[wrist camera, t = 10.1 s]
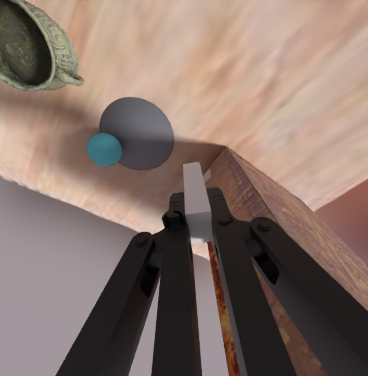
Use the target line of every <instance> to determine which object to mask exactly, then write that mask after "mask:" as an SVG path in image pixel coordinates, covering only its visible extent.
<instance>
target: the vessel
mask: <svg viewBox="0 0 368 376" xmlns="http://www.w3.org/2000/svg"><path fill="white" fill-rule="evenodd" d="M77 71H78V60H77V55H76V52H75V49H74V46H73V44H72V42H71V41H70V39H69V37H68V36H67V34H66V33H65V31H64V30H63V29H62V28H61V27H60V26H59V25H58V24H57V23H56V22H54V21H53V20H52V19H51V18H50V17H49V16H48V15H47V14H46V13H45V12H44V11H43V10H41V9H40V8H38V7H36V6H34V5H32V4H30V3H28V2H27V1H25V0H0V79H1V80H2V81H4V82H5V83H7V84H9V85H11V86H13V87H16V88H18V89H21V90H24V91H37V90H51V91H53V90H56V89H59V88H61V87H64V86H66V85H67V84H72V85H76V86H80V85H82V84H83V82H84V79H83V78H82V77H80V76H79V75H77Z"/></svg>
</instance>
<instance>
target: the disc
mask: <svg viewBox="0 0 368 376" xmlns="http://www.w3.org/2000/svg"><path fill="white" fill-rule="evenodd" d="M100 133H107V134H110V135H112V136H114V137H115V138H116V139H117V140H118V141H119V142H120V144H121V147H122V155H121V158H120V159H119V161H118V162H119V163H121V164H122V165H124V166H126V167H129V168H131V169H135V170H149V169H153V168H156V167H158V166H160V165H161V164H162V163H164V162H165V161H166V159H167V158H168V157H169V155H170V153H171V151H172V148H173V131H172V127H171V125H170V122H169V120H168V119H167V117H166V116H165V114H164V113H163V112H162V111H161V110H160V109H159V108H158V107H157V106H155V105H154V104H152V103H150V102H148V101H146V100H143V99H140V98H124V99H120V100H118V101H116V102H114V103H112V104H111V105H110V106H109V107H108V108H107V109H106V111H105V112H104V114H103V116H102V119H101V124H100Z"/></svg>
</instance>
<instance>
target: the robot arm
mask: <svg viewBox="0 0 368 376" xmlns="http://www.w3.org/2000/svg"><path fill="white" fill-rule="evenodd" d="M183 175H184V192H181V193H174V194H172V196H171V197H170V204H169V211H167V212H165V214H164V215H163V216H162V221H163V224H164V227H165V228H164V229H163V230H162V231H160V232H158V233H155V234H153V235H152V234H151V233H149V232H141V233H138V234H137V235H136V236H134V237H133V238H132V240H131V241H130V244H129V245H128V247H127V249H126V251H125V253H124V254H123V256H122V258H121V259H120V261H119V263H118V265H117V267H116V268H115V270H114V272H113V274H112V276H111V277H110V279H109V281H108V283H107V285H106V286H105V288H104V290H103V292H102V293H101V295H100V297H99V299H98V301H97V302H96V304H95V306H94V308H93V309H92V311H91V313H90V315H89V317H88V319H87V320H86V322H85V324H84V326H83V328H82V329H81V331H80V333H79V335H78V337H77V338H76V340H75V342H74V344H73V345H72V347H71V349H70V351H69V353H68V354H67V356H66V358H65V360H64V361H63V363H62V365H61V367H60V369H59V370H58V372H57V374H56V376H128V374H129V371H130V368H131V365H132V362H133V359H134V356H135V352H136V350H137V347H138V344H139V340H140V337H141V334H142V331H143V328H144V325H145V321H146V319H147V315H148V312H149V309H150V306H151V303H152V300H153V297H154V294H155V291H156V288H157V284H158V281H159V278H160V287H159V298H158V309H157V320H156V331H155V341H154V352H153V364H152V374H151V376H202V369H201V356H200V342H199V330H198V317H197V304H196V291H195V279H194V267H193V253H192V247H191V244H195V243H204V242H212V241H214V245H215V256H216V257H217V262H218V267H219V272H220V277H221V282H222V287H223V291H224V296H225V301H226V306H227V311H228V316H229V321H230V326H231V331H232V336H233V340H234V345H235V350H236V355H237V360H238V365H239V370H240V375H241V376H297V374H296V372H295V369H294V366H293V364H292V361H291V359H290V356H289V354H288V351H287V349H286V346H285V344H284V341H283V339H282V336H281V333H280V331H279V328H278V326H277V323H276V321H275V318H274V316H273V313H272V311H271V308H270V306H269V303H268V300H267V298H266V295H265V293H264V290H263V288H262V285H261V283H260V280H259V278H258V275H257V273H256V270H255V268H254V265H255V267H256V268H257V270H258V271H259V273H260V274H261V276H262V277H263V279H264V280H265V282H266V283H267V284H268V286H269V287H270V289H271V290H272V292H273V293H274V295H275V296H276V298H277V299H278V301H279V302H280V304H281V305H282V307H283V308H284V310H285V311H286V313H287V314H288V316H289V317H290V318H291V320H292V321H293V323H294V324H295V326H296V327H297V329H298V330H299V332H300V333H301V335H302V336H303V338H304V339H305V341H306V342H307V344H308V345H309V347H310V348H311V350H312V351H313V352H314V354H315V355H316V357H317V358H318V360H319V361H320V363H321V364H322V366H323V367H324V369H325V370H326V372H327V373H328V375H329V376H368V311H367V310H366V309H365V308H364V307H363V306H362V305H361V304H360V303H359V302H358V301H357V300H356V299H355V298H354V297H353V296H352V295H351V294H350V293H349V292H348V291H347V290H345V289H344V288H343V287H342V286H341V285H340V284H339V283H338V282H337V281H336V280H335V279H334V278H333V277H332V276H331V275H330V274H329V273H328V272H327V271H326V270H325V269H324V268H322V267H321V266H320V265H319V264H318V263H317V262H316V261H315V260H314V259H313V258H312V257H311V256H310V255H309V254H308V253H307V252H306V251H305V250H304V249H303V248H302V247H301V246H300V245H298V244H297V243H296V242H295V241H294V240H293V239H292V238H291V237H290V236H289V235H288V234H287V233H286V232H285V231H284V230H283V229H282V228H281V227H280V226H279V225H278V224H277V223H275V222H274V221H273V220H272V219H270V218H267V217H256V218H254V219H252V221H251V222H248V221H241V220H238V219H236V218H234V216H232V215H231V213H230V210H229V208H228V205H227V202H226V200H225V197H224V195H223V192H222V190H221V189H220V188H218V187H213V188H206V187H205V183H204V179H203V175H202V171H201V166H200V162H194V163H187V164H183ZM253 264H254V265H253ZM160 275H161V277H160Z"/></svg>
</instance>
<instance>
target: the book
mask: <svg viewBox="0 0 368 376" xmlns="http://www.w3.org/2000/svg"><path fill="white" fill-rule="evenodd" d="M202 175H203V179H204V183H205V187H206V188H213V187H218V188H220V189H221V190H222V192H223V195H224V197H225V200H226V202H227V205H228V208H229V210H230V213H231V215H232V216H234V218H236V219H238V220H241V221H248V222H251V221H252V219H254V218H256V217H267V218H270V219H272V220H273V221H274V222H275V223H277V224H278V225H279V226H280V227H281V228H282V229H283V230H284V231H285V232H286V233H287V234H288V235H289V236H290V237H291V238H292V239H293V240H294V241H295V242H296V243H297V244H298V245H300V246H301V247H302V248H303V249H304V250H305V251H306V252H307V253H308V254H309V255H310V256H311V257H312V258H313V259H314V260H315V261H316V262H317V263H318V264H319V265H320V266H321V267H322V268H324V269H325V270H326V271H327V272H328V273H329V274H330V275H331V276H332V277H333V278H334V279H335V280H336V281H337V282H338V283H339V284H340V285H341V286H342V287H343V288H344V289H345V290H347V291H348V292H349V293H350V294H351V295H352V296H353V297H354V298H355V299H356V300H357V301H358V302H359V303H360V304H361V305H362V306H363V307H364V308H365V309H366V310H367V311H368V266H367V265H366V264H365V263H364V262H363V261H362V260H361V259H360V258H359V257H358V256H357V255H356V254H355V253H354V252H353V251H352V250H351V249H350V248H349V247H347V245H346V244H345V243H344V242H343V241H342V240H341V239H340V238H339V237H338V236H337V235H336V234H335V233H334V232H332V230H331V229H330V228H329V227H328V226H326V224H325V223H324V222H323V221H322V220H320V218H318V216H317V215H316V214H314V212H313V211H312V210H311V209H310V208H309V207H308V206H307V205H306V204H305V203H304V202H303V201H301V200H300V199H299V198H297V197H296V196H295V195H293V194H292V193H290V192H289V191H288V190H286V189H285V188H283V187H282V186H281V185H279V184H278V183H277V182H275V181H274V180H272V179H271V178H270V177H268V176H267V175H265V174H264V173H263V172H261V171H260V170H259V169H257V168H256V167H254V166H253V165H252V164H250V163H249V162H248V161H246V160H245V159H243V158H242V157H241V156H239V155H238V154H236V153H235V152H234V151H232V150H231V149H230V148H228V147H227V146H226V147H225V148H224V149H223V151H222V152H221V153H220V154H219V155H218V157H217V158H216V159H215V160H214V161H213V163H212V164H211V165H210V166H209V167H208V168H207V170H206V171H205V172H204V173H203V174H202ZM207 244H208V250H209V256H210V262H211V268H212V274H213V281H214V287H215V293H216V299H217V305H218V311H219V318H220V323H221V329H222V336H223V342H224V348H225V354H226V360H227V366H228V372H229V376H241V375H240V370H239V365H238V360H237V355H236V350H235V345H234V340H233V336H232V331H231V326H230V321H229V316H228V311H227V306H226V301H225V296H224V291H223V287H222V282H221V277H220V272H219V267H218V262H217V257H216V256H215V245H214V241H212V242H207ZM253 265H254V264H253ZM254 268H255V270H256V273H257V275H258V278H259V280H260V283H261V285H262V288H263V290H264V293H265V295H266V298H267V300H268V303H269V306H270V308H271V311H272V313H273V316H274V318H275V321H276V323H277V326H278V328H279V331H280V333H281V336H282V339H283V341H284V344H285V346H286V349H287V351H288V354H289V356H290V359H291V361H292V364H293V366H294V369H295V372H296V374H297V376H329V375H328V373H327V372H326V370H325V369H324V367H323V366H322V364H321V363H320V361H319V360H318V358H317V357H316V355H315V354H314V352H313V351H312V350H311V348H310V347H309V345H308V344H307V342H306V341H305V339H304V338H303V336H302V335H301V333H300V332H299V330H298V329H297V327H296V326H295V324H294V323H293V321H292V320H291V318H290V317H289V316H288V314H287V313H286V311H285V310H284V308H283V307H282V305H281V304H280V302H279V301H278V299H277V298H276V296H275V295H274V293H273V292H272V290H271V289H270V287H269V286H268V284H267V283H266V282H265V280H264V279H263V277H262V276H261V274H260V273H259V271H258V270H257V268H256V267H255V265H254Z"/></svg>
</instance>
